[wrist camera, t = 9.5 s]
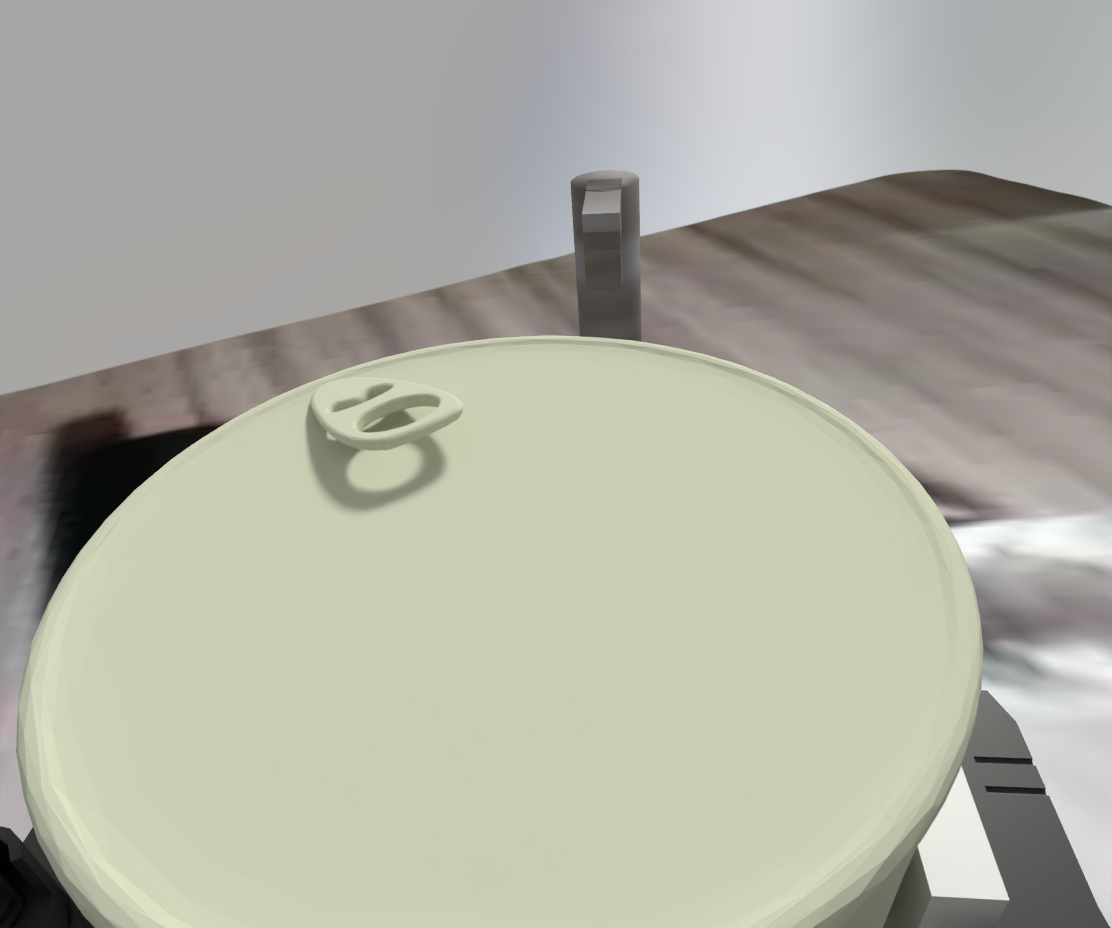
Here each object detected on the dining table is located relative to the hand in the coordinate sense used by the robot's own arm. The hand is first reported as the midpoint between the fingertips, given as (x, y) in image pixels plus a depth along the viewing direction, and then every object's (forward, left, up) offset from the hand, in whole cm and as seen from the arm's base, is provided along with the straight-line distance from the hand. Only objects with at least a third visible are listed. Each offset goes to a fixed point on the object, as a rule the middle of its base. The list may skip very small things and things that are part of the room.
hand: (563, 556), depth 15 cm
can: (-3, +4, -7) cm, 9 cm away
